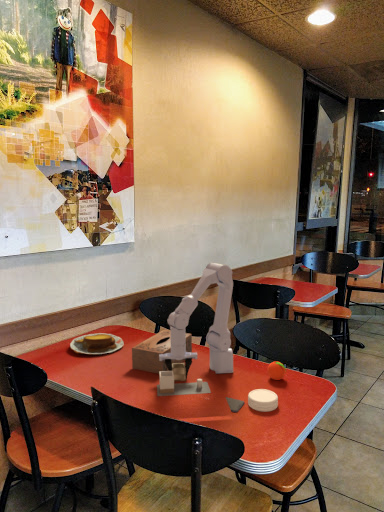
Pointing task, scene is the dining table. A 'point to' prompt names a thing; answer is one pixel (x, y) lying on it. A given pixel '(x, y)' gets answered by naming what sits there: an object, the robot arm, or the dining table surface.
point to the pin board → (187, 388)
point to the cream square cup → (166, 381)
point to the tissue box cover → (156, 352)
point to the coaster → (262, 400)
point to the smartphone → (234, 404)
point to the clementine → (276, 370)
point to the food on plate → (96, 343)
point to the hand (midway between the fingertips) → (178, 377)
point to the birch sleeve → (179, 371)
